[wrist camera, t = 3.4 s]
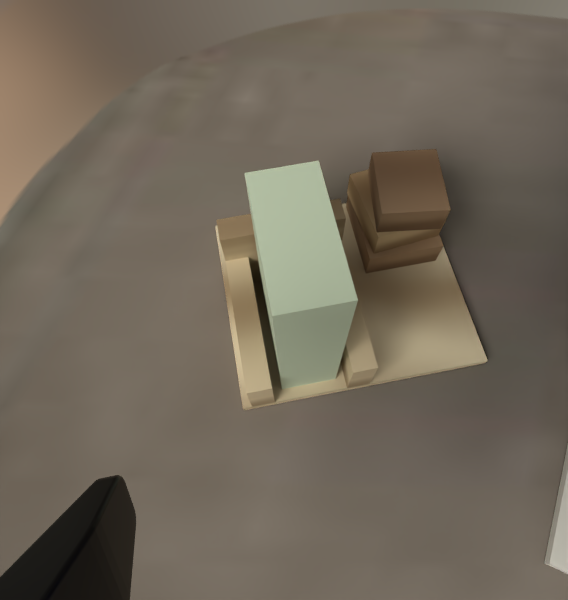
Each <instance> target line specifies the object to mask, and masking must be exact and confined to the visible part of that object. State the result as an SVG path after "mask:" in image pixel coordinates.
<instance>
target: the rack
mask: <svg viewBox="0 0 568 600" xmlns="http://www.w3.org/2000/svg"><path fill="white" fill-rule="evenodd" d="M347 194H348V197H347V203H346V204H342V203H341V200H340V199H334V200H330V203H331V206H332V210H333V213H334V217H335V221H336V224H337V228H338V231H339V235H340V238H341V242H342V245H343V249H344V253H345V256H346V260H347V263H348V267H349V270H350V274H351V277H352V281H353V284H354V288H355V292H356V295H357V299H358V302H357V305H356V309H355V312H354V316H353V319H352V323H351V326H350V330H349V333H348V337H347V340H346V344H345V347H344V351H343V354H342V358H341V361H340V365H339V368H338V372H337V375H336V379H332V380H327V381H322V382H317V383H312V384H307V385H302V386H296V387H291V388H286V389H282V387H281V382H280V377H279V371H278V366H277V361H276V355H275V350H274V345H273V340H272V334H271V329H270V324H269V319H268V313H267V308H266V303H265V298H264V292H263V287H262V280H261V274H260V268H259V261H258V255H257V249H256V242H255V236H254V230H253V223H252V217H251V214H247V215H242V216H236V217H230V218H224V219H219V220H217V226H215V227H216V234H217V240H218V247H219V253H220V260H221V267H222V273H223V280H224V286H225V293H226V300H227V306H228V313H229V319H230V326H231V333H232V339H233V346H234V352H235V359H236V365H237V372H238V379H239V385H240V392H241V398H242V405H243V409H244V410H248V409H254V408H259V407H264V406H269V405H274V404H279V403H284V402H289V401H294V400H300V399H305V398H310V397H315V396H320V395H325V394H330V393H335V392H340V391H346V390H351V389H356V388H361V387H366V386H371V385H376V384H381V383H386V382H392V381H397V380H402V379H407V378H412V377H417V376H422V375H427V374H432V373H438V372H443V371H448V370H453V369H458V368H463V367H468V366H473V365H478V364H484V363H486V362H487V361H488V360H487V357H486V355H485V352H484V350H483V347H482V345H481V342H480V339H479V337H478V334H477V332H476V329H475V326H474V324H473V321H472V319H471V316H470V313H469V311H468V308H467V306H466V303H465V301H464V298H463V295H462V293H461V290H460V288H459V285H458V282H457V280H456V277H455V275H454V272H453V270H452V267H451V264H450V262H449V259H448V257H447V254H446V251H445V249H444V246H443V243H442V241H441V238H440V235H439V233H440V231H441V229H442V227H443V225H444V223H445V221H446V219H447V216H448V214H449V212H450V210H451V209H450V205H449V201H448V196H447V192H446V188H445V184H444V179H443V175H442V171H441V167H440V163H439V158H438V154H437V150H436V149H429V150H411V151H394V152H376V153H372V156H371V161H370V166H369V169H368V170H365V171H361V172H357V173H353V174H350V177H349V183H348V190H347Z"/></svg>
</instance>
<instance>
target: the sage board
mask: <svg viewBox="0 0 568 600" xmlns="http://www.w3.org/2000/svg"><path fill="white" fill-rule="evenodd" d="M245 179H246V185H247V191H248V198H249V204H250V210H251V217H252V223H253V230H254V236H255V242H256V249H257V255H258V261H259V268H260V274H261V280H262V287H263V292H264V298H265V303H266V308H267V313H268V319H269V324H270V329H271V334H272V340H273V345H274V350H275V355H276V361H277V366H278V371H279V377H280V382H281V387H282V389H286V388H291V387H296V386H302V385H307V384H312V383H317V382H322V381H327V380H332V379H336V375H337V372H338V368H339V365H340V361H341V358H342V354H343V351H344V347H345V344H346V340H347V337H348V333H349V330H350V326H351V323H352V319H353V316H354V312H355V309H356V305H357V302H358V299H357V295H356V292H355V288H354V284H353V281H352V277H351V274H350V270H349V267H348V263H347V260H346V256H345V253H344V249H343V245H342V242H341V238H340V235H339V231H338V228H337V224H336V221H335V217H334V213H333V210H332V206H331V203H330V199H329V196H328V192H327V189H326V185H325V181H324V178H323V174H322V171H321V167H320V164H319V161H314V162H308V163H302V164H296V165H290V166H284V167H278V168H272V169H266V170H260V171H254V172H248V173H245Z"/></svg>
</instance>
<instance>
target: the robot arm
mask: <svg viewBox="0 0 568 600" xmlns="http://www.w3.org/2000/svg"><path fill="white" fill-rule="evenodd" d="M135 530H136V514H135V509H134V506H133V503H132V501H131V498H130V495H129V492H128V489H127V486H126V483H125V481H124V479H123V478H122V477H121V476H119V475H115V476H110V477H105V478H101V479H98V480H96V481H95V482H94V483H93V484H92V485H91V486H90V487H89V488H88V489H87V490H86V491H85V492H84V493H83V494H82V495H81V496H80V497H79V498H78V499H77V500H76V501H75V502H74V503H73V504H72V505H71V506H70V507H69V508H68V509H67V510H66V511H65V512H64V513H63V514H62V515H61V516H60V517H59V518H58V519H57V520H56V521H55V522H54V523H53V524H52V525H51V526H50V527H49V528H48V529H47V530H46V531H45V532H44V533H43V534H42V535H41V536H40V537H39V538H38V539H37V540H36V541H35V542H34V543H33V544H32V545H31V546H30V547H29V548H28V549H27V550H26V551H25V553H24V554H23V555H22V556H21V557H20V558H19V559H18V560H17V561H16V562H15V563H14V564H13V565H12V566H11V567H10V568H9V569H8V570H7V571H6V572H5V573H4V574H3V575H2V576H1V577H0V600H130V590H131V578H132V566H133V554H134V542H135Z"/></svg>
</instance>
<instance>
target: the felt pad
mask: <svg viewBox="0 0 568 600" xmlns="http://www.w3.org/2000/svg"><path fill="white" fill-rule="evenodd" d="M544 563H545V564H547V565H549V566H551V567H553V568H556V569H558V570H560V571H562V572H564V573H566V574H568V445H567V450H566V455H565V460H564V465H563V471H562V476H561V481H560V486H559V491H558V496H557V501H556V506H555V511H554V516H553V521H552V526H551V531H550V536H549V541H548V547H547V552H546V557H545V562H544Z"/></svg>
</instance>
